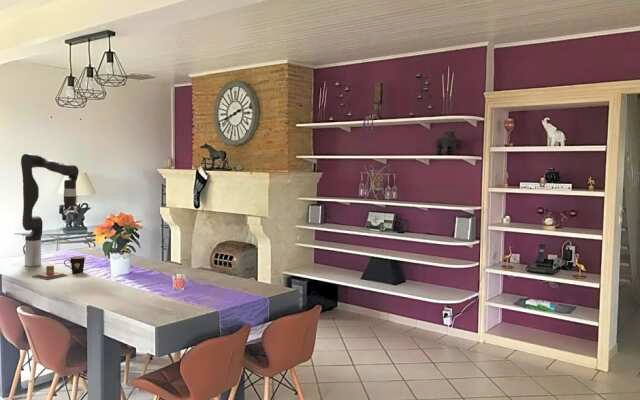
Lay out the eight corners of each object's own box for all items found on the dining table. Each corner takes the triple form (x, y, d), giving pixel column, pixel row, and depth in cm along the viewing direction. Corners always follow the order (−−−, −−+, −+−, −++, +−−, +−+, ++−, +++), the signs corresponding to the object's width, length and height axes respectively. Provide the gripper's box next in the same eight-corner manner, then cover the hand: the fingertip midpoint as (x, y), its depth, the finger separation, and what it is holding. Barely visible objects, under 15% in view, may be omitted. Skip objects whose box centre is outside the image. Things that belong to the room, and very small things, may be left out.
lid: (36, 275, 326) (36, 266, 325) (52, 272, 336) (52, 263, 335) (48, 278, 321) (48, 268, 321) (63, 275, 331) (63, 265, 330)
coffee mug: (87, 271, 345) (87, 256, 344) (80, 274, 337) (80, 258, 336) (70, 270, 346) (70, 255, 346) (63, 273, 338) (63, 257, 337)
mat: (32, 277, 325) (32, 276, 325) (52, 273, 338) (52, 272, 338) (47, 279, 319) (47, 278, 319) (67, 275, 332) (67, 274, 332)
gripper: (75, 194, 356) (75, 218, 357) (56, 195, 343) (56, 220, 345) (83, 195, 353) (83, 219, 354) (64, 196, 340) (64, 221, 341)
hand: (69, 219), depth 349 cm, fingers open, 8 cm apart
